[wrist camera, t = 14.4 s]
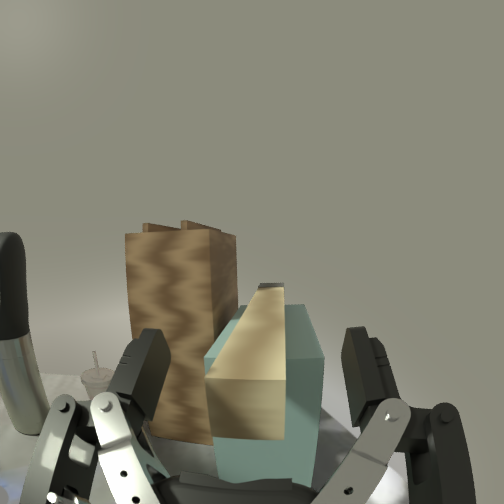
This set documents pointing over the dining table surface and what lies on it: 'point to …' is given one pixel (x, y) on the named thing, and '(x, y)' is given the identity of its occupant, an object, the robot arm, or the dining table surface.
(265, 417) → the pale wooden beam
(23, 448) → the dining table surface
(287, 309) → the pale teal block
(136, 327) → the tall wooden block
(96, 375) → the smoothie
